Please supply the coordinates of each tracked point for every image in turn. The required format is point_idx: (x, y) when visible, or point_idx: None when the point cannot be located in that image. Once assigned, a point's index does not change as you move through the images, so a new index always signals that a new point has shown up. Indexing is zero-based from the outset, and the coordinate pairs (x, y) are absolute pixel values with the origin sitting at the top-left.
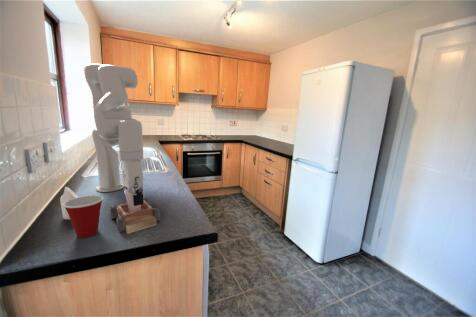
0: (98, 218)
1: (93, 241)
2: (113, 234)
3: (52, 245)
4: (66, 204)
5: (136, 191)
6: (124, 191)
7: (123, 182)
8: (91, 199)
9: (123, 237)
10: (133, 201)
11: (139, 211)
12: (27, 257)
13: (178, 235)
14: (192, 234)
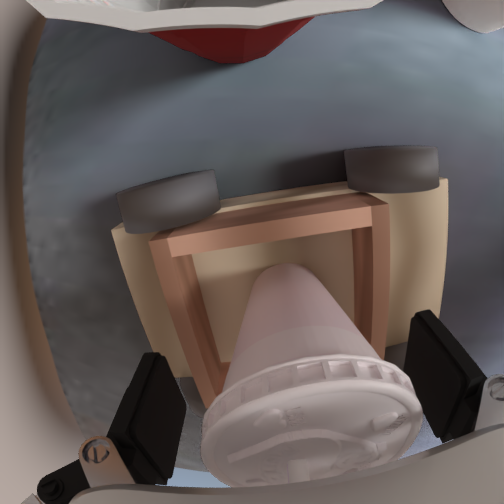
0: (189, 47)
1: (127, 58)
2: (152, 147)
3: None
4: None
5: (82, 484)
6: (325, 383)
7: (442, 484)
8: None
9: (102, 198)
10: (144, 378)
11: (181, 343)
12: None
13: (75, 384)
14: (77, 412)
